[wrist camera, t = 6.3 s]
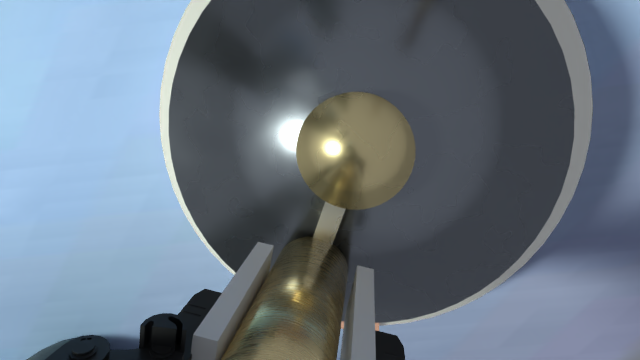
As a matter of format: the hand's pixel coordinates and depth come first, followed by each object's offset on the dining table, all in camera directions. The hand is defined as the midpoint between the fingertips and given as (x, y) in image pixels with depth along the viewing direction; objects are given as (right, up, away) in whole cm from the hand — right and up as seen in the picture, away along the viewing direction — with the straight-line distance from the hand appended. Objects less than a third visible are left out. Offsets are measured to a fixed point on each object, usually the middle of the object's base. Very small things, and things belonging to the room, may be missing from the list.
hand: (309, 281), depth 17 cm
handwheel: (+2, +7, +2) cm, 7 cm away
